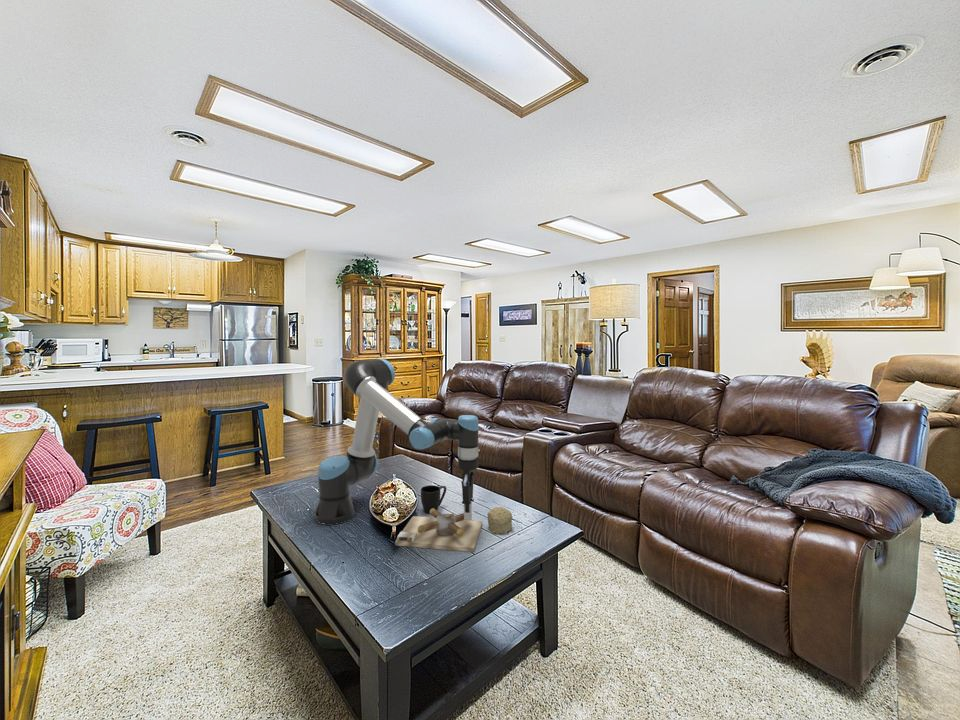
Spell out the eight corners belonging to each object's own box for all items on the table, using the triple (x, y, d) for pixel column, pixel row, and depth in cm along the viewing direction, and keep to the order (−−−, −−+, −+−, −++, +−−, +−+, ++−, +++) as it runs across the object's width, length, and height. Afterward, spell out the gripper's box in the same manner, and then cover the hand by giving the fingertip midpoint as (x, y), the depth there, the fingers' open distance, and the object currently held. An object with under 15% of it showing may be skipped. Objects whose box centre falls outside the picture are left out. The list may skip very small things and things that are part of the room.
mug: (451, 509, 174) (451, 487, 174) (427, 517, 167) (427, 494, 166) (440, 502, 181) (440, 481, 180) (417, 510, 173) (416, 488, 172)
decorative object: (514, 538, 157) (516, 510, 162) (506, 533, 149) (509, 505, 154) (491, 535, 161) (494, 509, 166) (482, 531, 153) (485, 503, 158)
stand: (395, 545, 144) (394, 537, 144) (412, 519, 164) (412, 512, 164) (473, 552, 140) (473, 544, 140) (482, 525, 160) (482, 517, 160)
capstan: (433, 553, 136) (433, 537, 135) (404, 527, 154) (404, 512, 154) (488, 535, 149) (488, 520, 148) (456, 512, 167) (456, 498, 167)
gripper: (475, 463, 146) (474, 528, 147) (480, 453, 158) (480, 513, 160) (454, 461, 147) (454, 526, 148) (461, 452, 160) (461, 511, 161)
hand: (467, 519), depth 154 cm, fingers closed
